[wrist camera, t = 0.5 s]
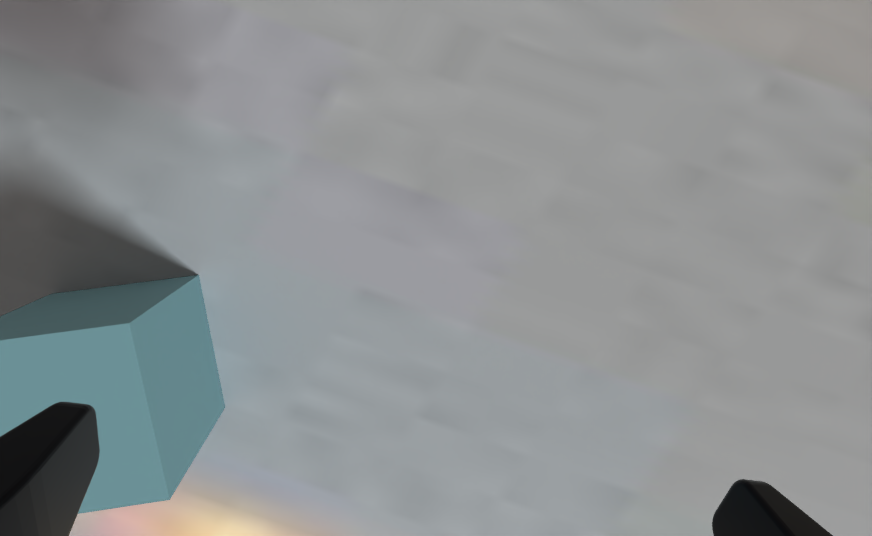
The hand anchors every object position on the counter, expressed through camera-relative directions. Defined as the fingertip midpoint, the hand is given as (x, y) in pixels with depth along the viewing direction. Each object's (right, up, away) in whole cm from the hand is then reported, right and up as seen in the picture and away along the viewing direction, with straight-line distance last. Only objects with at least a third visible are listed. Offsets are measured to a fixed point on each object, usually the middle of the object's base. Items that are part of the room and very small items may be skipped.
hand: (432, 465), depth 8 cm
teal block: (-10, 0, +13) cm, 17 cm away
